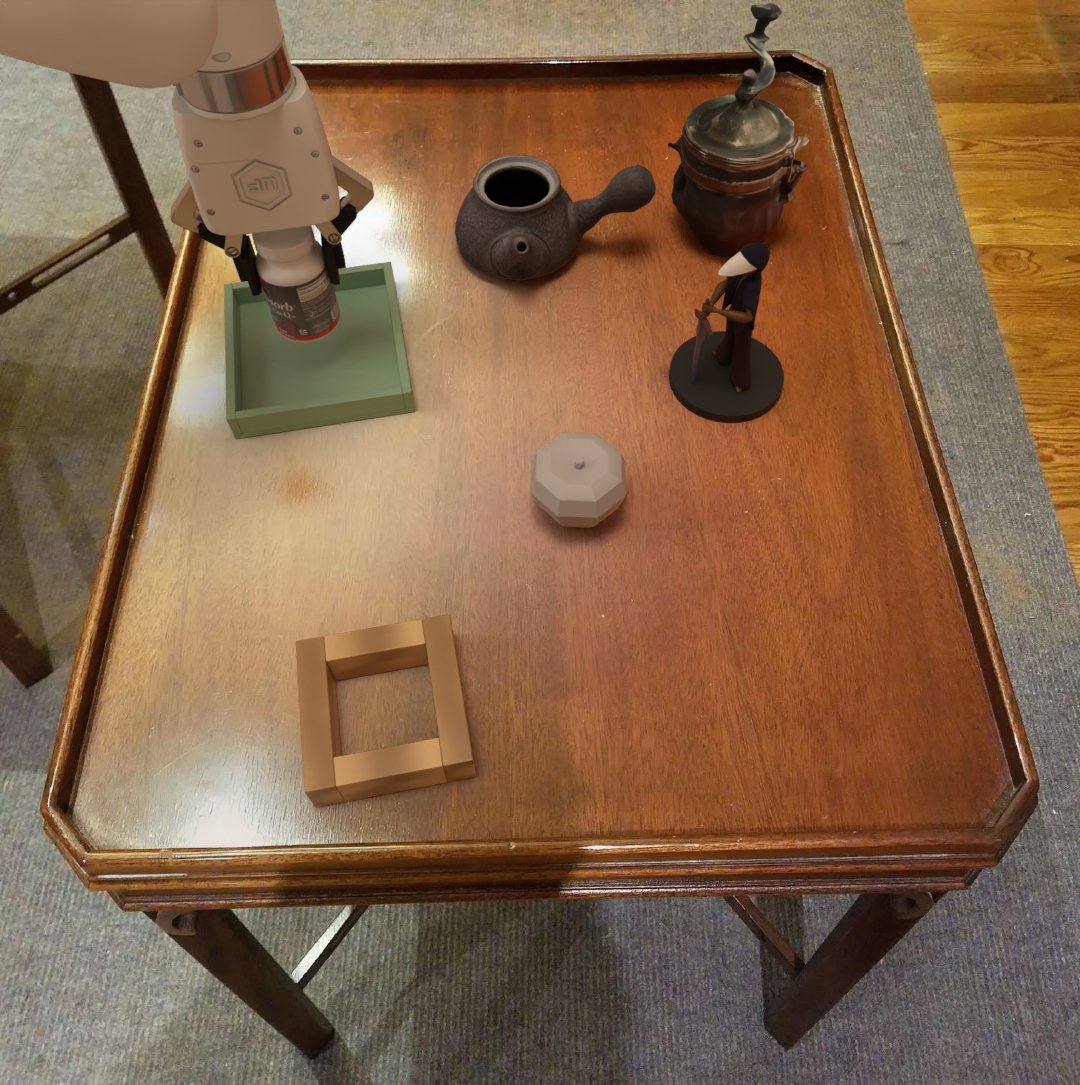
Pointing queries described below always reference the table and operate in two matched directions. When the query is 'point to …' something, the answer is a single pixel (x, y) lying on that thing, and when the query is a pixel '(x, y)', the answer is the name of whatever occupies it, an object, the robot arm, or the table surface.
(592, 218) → the teapot
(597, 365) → the table surface
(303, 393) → the tray
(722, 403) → the figurine
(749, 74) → the coffee grinder
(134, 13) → the robot arm
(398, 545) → the table surface
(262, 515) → the table surface
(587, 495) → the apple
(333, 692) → the holder
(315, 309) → the pill bottle
